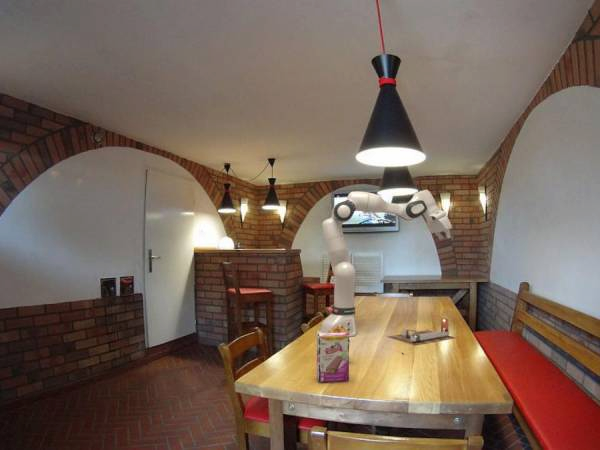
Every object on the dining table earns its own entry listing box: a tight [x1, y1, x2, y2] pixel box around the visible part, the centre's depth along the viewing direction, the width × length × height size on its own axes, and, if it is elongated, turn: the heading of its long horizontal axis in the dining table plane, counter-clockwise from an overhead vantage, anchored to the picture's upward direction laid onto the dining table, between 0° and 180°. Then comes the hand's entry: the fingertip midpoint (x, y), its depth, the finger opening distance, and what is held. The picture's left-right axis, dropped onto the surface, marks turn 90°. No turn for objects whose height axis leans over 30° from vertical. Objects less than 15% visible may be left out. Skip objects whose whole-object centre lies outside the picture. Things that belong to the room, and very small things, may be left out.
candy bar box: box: [316, 332, 350, 384], centre depth 134 cm, size 11×5×16 cm, turn 98°
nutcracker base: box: [387, 328, 457, 347], centre depth 188 cm, size 29×19×6 cm, turn 119°
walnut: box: [408, 329, 418, 340], centre depth 185 cm, size 4×4×4 cm
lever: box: [410, 317, 451, 342], centre depth 183 cm, size 24×4×8 cm, turn 119°
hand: (445, 238), depth 205 cm, fingers open, 8 cm apart
